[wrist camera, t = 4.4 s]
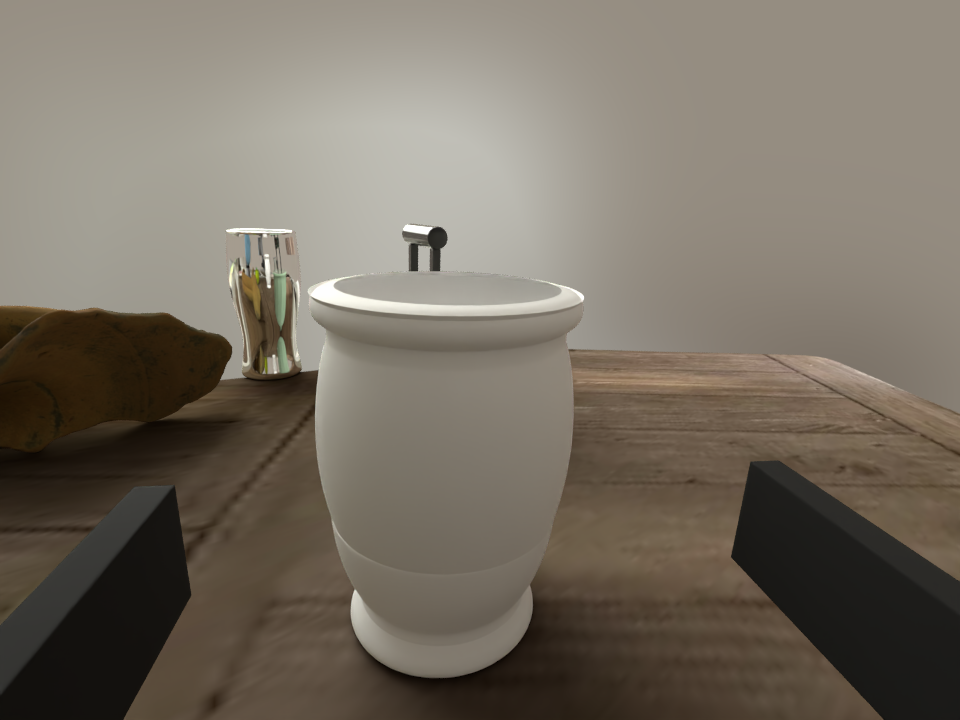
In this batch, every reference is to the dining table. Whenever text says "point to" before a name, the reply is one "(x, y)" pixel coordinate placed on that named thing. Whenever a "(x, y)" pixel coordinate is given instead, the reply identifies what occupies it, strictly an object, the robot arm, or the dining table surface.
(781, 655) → the dining table surface
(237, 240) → the beer glass
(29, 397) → the brown looped sculpture
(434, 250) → the pot lid
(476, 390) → the jar
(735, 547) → the robot arm
